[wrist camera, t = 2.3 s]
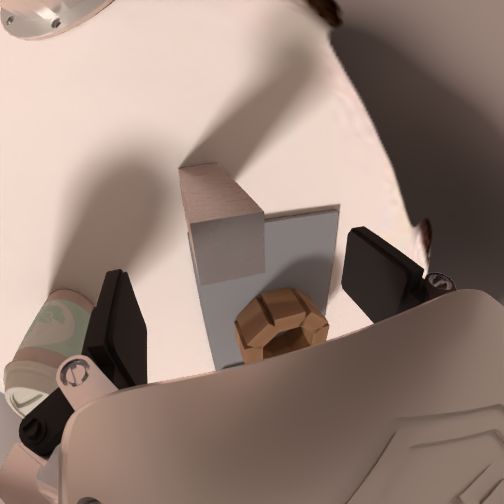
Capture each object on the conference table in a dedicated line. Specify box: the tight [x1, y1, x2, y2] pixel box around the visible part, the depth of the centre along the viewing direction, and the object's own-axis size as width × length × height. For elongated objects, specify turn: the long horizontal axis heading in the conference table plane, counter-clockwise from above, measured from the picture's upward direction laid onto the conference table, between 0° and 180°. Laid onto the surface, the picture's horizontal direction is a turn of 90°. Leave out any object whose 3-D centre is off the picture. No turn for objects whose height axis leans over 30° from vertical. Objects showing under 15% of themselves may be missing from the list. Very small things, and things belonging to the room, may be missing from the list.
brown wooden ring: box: [234, 287, 329, 364], centre depth 28 cm, size 9×9×4 cm
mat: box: [188, 210, 339, 371], centre depth 28 cm, size 20×14×1 cm
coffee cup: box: [3, 289, 94, 418], centre depth 17 cm, size 9×8×12 cm
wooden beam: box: [178, 163, 265, 286], centre depth 16 cm, size 3×3×11 cm
